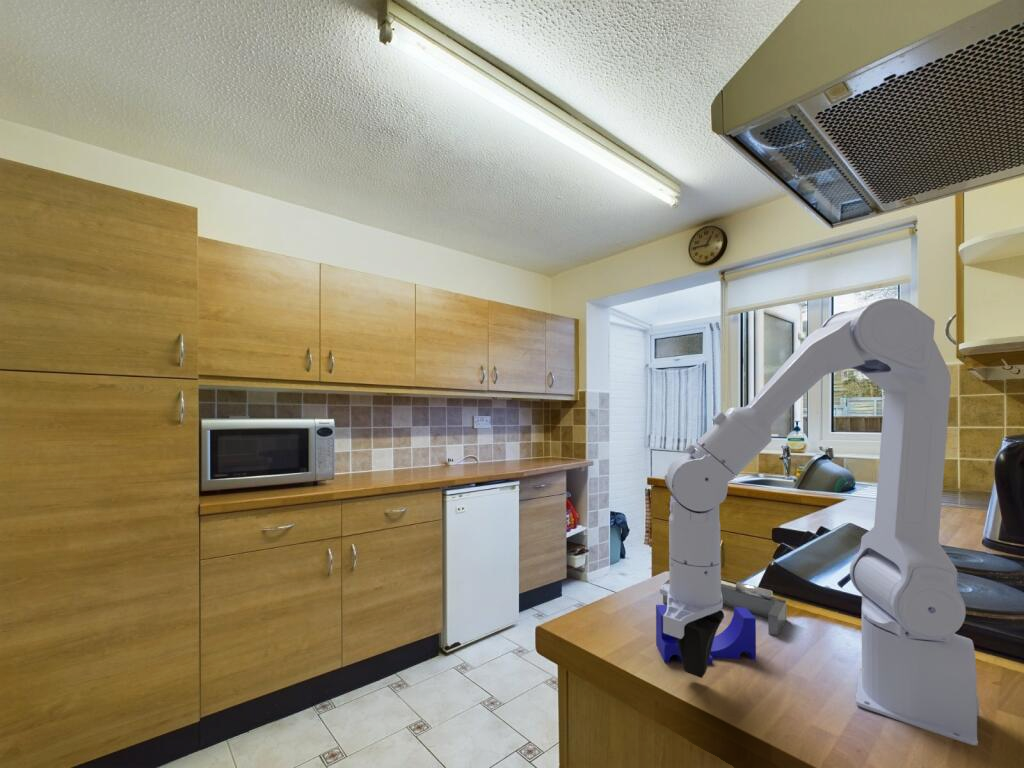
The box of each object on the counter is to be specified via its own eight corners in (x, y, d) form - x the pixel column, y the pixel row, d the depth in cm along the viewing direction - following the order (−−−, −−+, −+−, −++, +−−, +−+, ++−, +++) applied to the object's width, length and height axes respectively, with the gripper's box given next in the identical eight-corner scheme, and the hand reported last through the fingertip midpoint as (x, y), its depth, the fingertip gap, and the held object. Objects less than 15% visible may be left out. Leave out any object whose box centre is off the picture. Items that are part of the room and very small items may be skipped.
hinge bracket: (786, 619, 71) (786, 592, 71) (777, 637, 66) (777, 608, 66) (677, 588, 82) (677, 565, 82) (663, 602, 77) (662, 577, 77)
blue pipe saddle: (664, 667, 59) (664, 621, 59) (656, 648, 64) (656, 604, 64) (761, 671, 59) (761, 624, 59) (746, 651, 63) (745, 607, 63)
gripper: (682, 535, 63) (682, 635, 63) (636, 567, 52) (637, 688, 52) (738, 547, 59) (738, 654, 59) (701, 585, 48) (701, 717, 48)
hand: (695, 672), depth 55 cm, fingers closed
